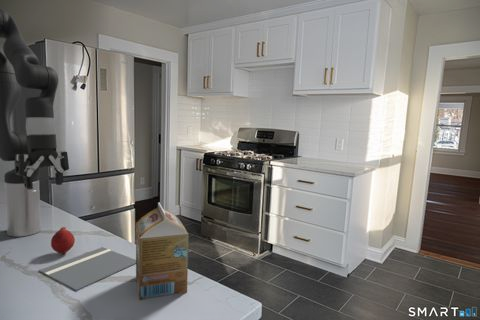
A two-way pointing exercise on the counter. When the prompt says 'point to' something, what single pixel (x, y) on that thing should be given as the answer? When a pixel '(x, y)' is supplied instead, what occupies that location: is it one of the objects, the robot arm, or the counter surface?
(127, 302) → the counter surface
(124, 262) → the mat
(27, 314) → the counter surface
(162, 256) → the milk carton
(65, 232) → the onion
